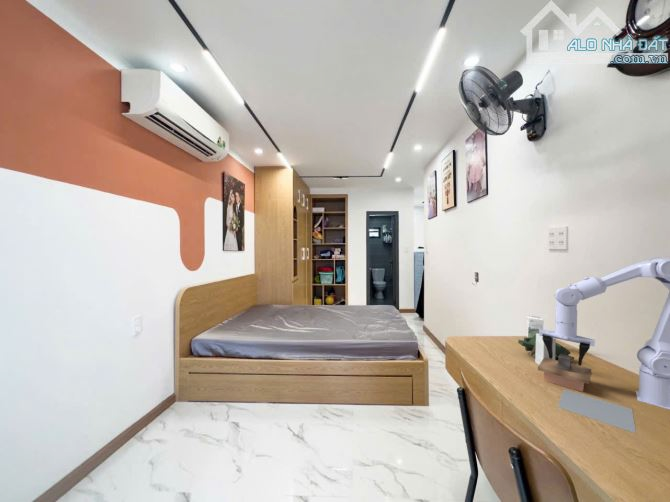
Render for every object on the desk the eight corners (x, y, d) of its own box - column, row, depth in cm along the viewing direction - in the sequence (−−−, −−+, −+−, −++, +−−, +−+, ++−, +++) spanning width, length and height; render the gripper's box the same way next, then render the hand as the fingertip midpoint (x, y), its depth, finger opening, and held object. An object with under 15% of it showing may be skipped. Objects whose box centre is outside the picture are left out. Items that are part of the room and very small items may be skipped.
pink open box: (584, 382, 93) (585, 371, 93) (582, 392, 86) (583, 380, 86) (548, 372, 100) (548, 362, 100) (543, 381, 93) (544, 370, 93)
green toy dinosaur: (562, 379, 107) (584, 358, 105) (520, 345, 113) (540, 325, 111) (550, 371, 118) (569, 352, 116) (512, 340, 124) (530, 322, 122)
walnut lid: (591, 371, 93) (591, 357, 93) (589, 384, 84) (589, 368, 84) (544, 360, 102) (544, 347, 102) (537, 370, 93) (538, 355, 93)
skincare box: (555, 369, 103) (556, 338, 103) (542, 368, 104) (543, 337, 104) (546, 363, 109) (547, 334, 109) (534, 362, 110) (535, 333, 110)
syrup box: (541, 346, 129) (541, 316, 129) (542, 350, 124) (543, 319, 124) (526, 344, 132) (527, 314, 132) (527, 347, 127) (528, 317, 127)
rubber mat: (632, 410, 77) (632, 409, 77) (635, 434, 66) (635, 433, 66) (563, 390, 88) (563, 388, 88) (557, 408, 77) (557, 406, 77)
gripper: (537, 319, 95) (536, 357, 95) (594, 329, 85) (593, 371, 85) (541, 316, 100) (540, 352, 100) (595, 325, 90) (594, 365, 90)
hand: (564, 361), depth 93 cm, fingers open, 7 cm apart
